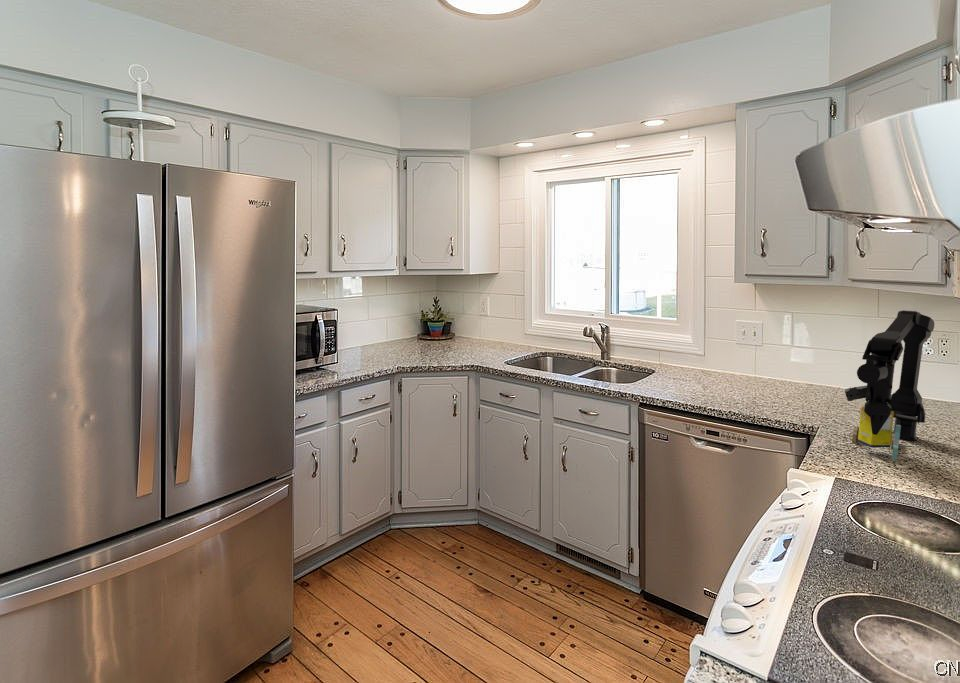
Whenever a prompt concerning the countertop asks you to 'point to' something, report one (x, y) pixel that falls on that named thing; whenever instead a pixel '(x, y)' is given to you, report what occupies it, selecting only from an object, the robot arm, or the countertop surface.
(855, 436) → the dock
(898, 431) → the clip gate
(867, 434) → the supplement box
